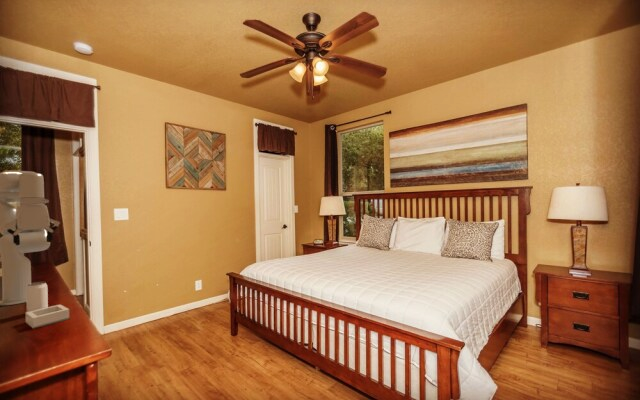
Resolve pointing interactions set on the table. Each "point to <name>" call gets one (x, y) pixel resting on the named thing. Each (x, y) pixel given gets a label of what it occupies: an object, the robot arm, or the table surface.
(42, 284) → the can
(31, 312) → the dock socket
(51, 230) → the robot arm
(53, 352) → the table surface
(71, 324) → the table surface
